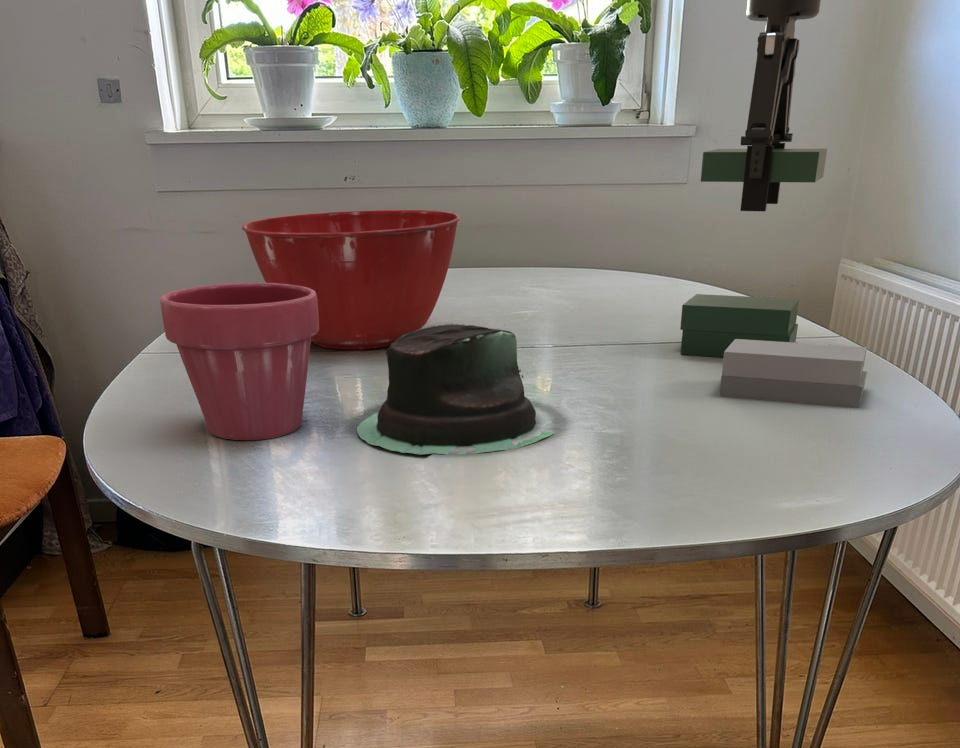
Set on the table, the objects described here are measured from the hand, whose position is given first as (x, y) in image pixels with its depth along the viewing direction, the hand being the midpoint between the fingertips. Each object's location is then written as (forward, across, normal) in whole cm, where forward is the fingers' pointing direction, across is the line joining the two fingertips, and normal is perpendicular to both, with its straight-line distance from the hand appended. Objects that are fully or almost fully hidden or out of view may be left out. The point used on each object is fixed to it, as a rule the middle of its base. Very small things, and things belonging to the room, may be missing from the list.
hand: (759, 207), depth 111 cm
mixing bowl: (+17, +7, -51) cm, 54 cm away
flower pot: (+17, +48, -40) cm, 65 cm away
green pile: (+17, -2, -1) cm, 17 cm away
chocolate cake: (+17, +41, -21) cm, 49 cm away
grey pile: (+17, +19, +8) cm, 27 cm away
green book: (-3, 0, 0) cm, 3 cm away
